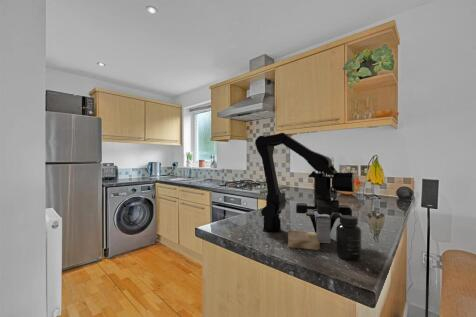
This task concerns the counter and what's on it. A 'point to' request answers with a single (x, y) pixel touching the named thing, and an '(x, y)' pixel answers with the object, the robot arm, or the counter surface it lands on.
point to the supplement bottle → (348, 238)
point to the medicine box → (323, 228)
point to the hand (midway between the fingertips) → (322, 232)
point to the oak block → (303, 240)
